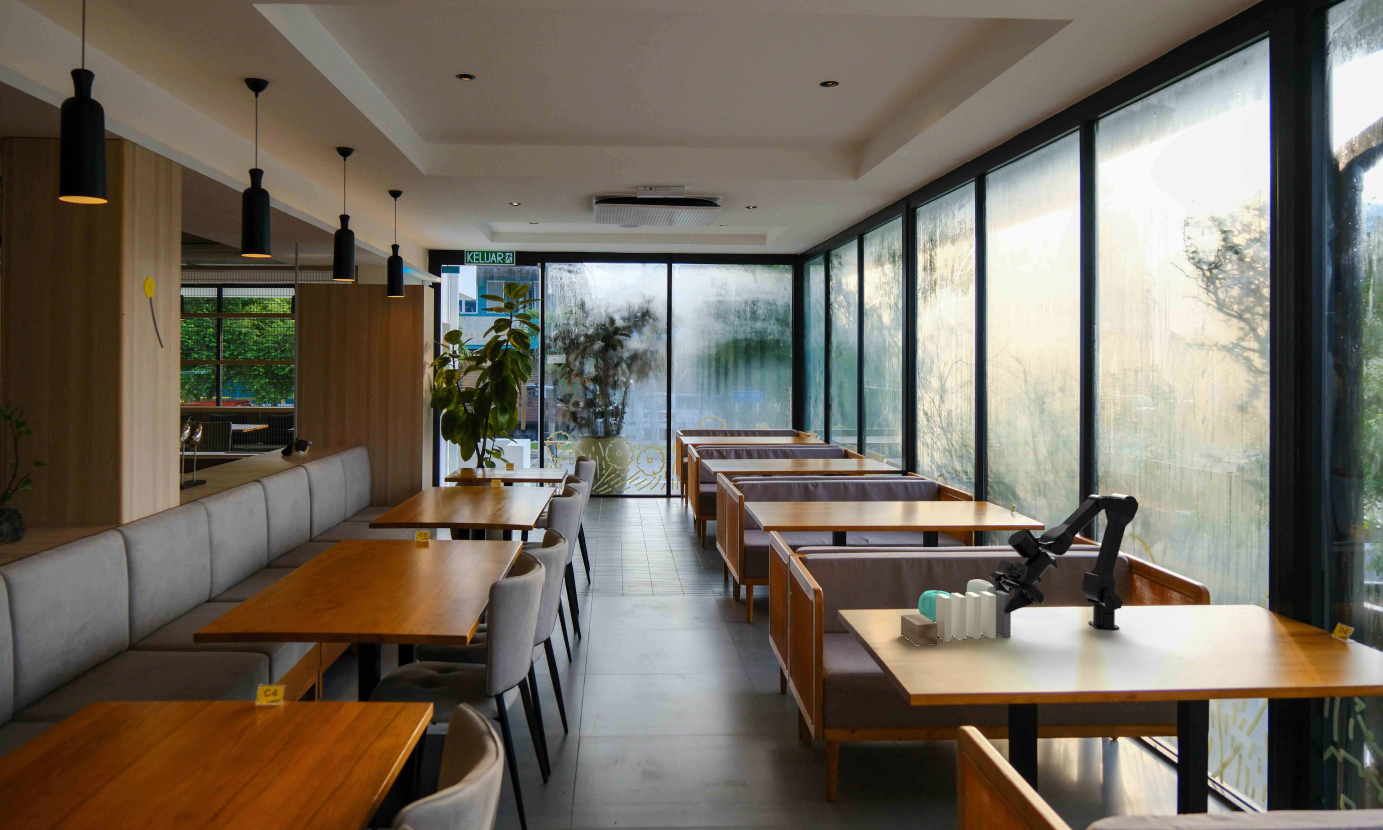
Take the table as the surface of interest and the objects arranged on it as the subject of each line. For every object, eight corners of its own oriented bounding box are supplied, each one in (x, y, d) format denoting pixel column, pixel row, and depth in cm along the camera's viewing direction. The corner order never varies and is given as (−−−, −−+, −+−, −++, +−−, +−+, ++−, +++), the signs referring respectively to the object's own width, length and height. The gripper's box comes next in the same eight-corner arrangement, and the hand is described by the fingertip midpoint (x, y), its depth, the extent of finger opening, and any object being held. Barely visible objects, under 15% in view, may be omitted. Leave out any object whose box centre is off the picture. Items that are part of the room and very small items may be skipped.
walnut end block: (920, 634, 239) (920, 613, 239) (937, 644, 229) (937, 623, 229) (900, 635, 238) (901, 615, 238) (916, 645, 228) (916, 624, 228)
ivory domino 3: (971, 633, 239) (971, 591, 239) (981, 638, 234) (981, 596, 234) (965, 634, 239) (965, 592, 238) (974, 639, 234) (974, 596, 233)
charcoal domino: (1000, 631, 241) (1000, 590, 240) (1010, 636, 236) (1010, 594, 236) (993, 632, 240) (994, 590, 240) (1004, 637, 235) (1004, 594, 235)
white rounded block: (964, 617, 256) (964, 577, 256) (976, 615, 258) (976, 576, 257) (987, 626, 247) (987, 584, 246) (999, 624, 248) (999, 583, 248)
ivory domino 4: (986, 632, 240) (986, 591, 240) (995, 637, 235) (995, 595, 235) (979, 633, 240) (980, 591, 239) (989, 638, 235) (989, 595, 234)
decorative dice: (956, 620, 253) (956, 594, 253) (938, 624, 249) (938, 597, 248) (935, 614, 260) (935, 588, 259) (917, 618, 255) (917, 592, 255)
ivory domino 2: (957, 634, 238) (957, 592, 238) (966, 639, 233) (966, 596, 233) (950, 634, 238) (950, 593, 238) (959, 640, 233) (959, 597, 233)
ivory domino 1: (942, 635, 237) (942, 593, 237) (951, 640, 232) (951, 597, 232) (936, 635, 237) (936, 593, 237) (944, 641, 232) (944, 598, 232)
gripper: (995, 544, 247) (962, 583, 245) (1035, 556, 229) (999, 598, 227) (1019, 569, 249) (986, 608, 247) (1060, 583, 231) (1025, 625, 229)
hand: (998, 609), depth 238 cm, fingers open, 6 cm apart
